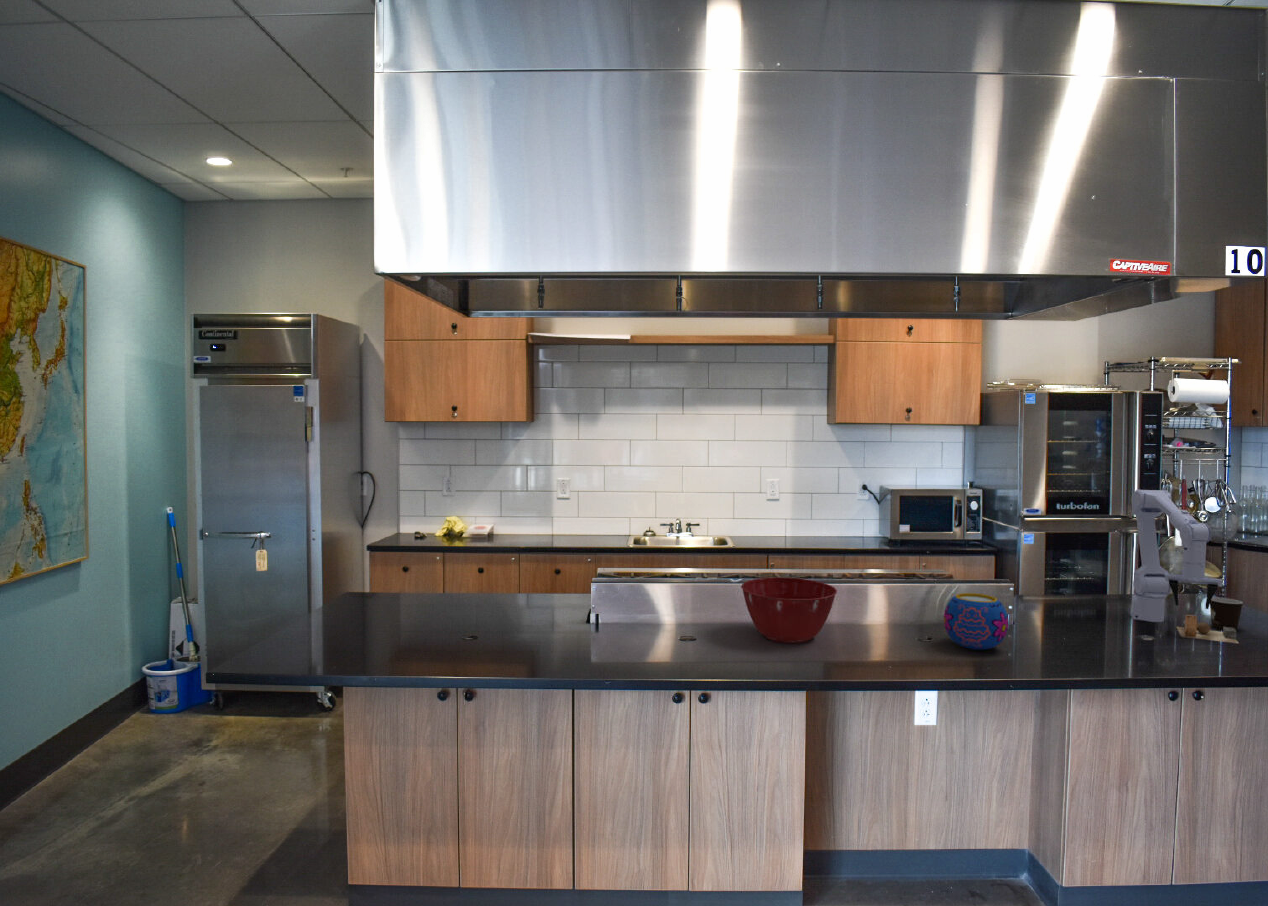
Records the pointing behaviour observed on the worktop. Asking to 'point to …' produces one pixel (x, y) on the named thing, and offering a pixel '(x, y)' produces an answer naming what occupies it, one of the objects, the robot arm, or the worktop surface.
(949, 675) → the worktop surface
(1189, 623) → the lever
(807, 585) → the mixing bowl
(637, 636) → the worktop surface
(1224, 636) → the beige square panel
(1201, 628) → the brown ball
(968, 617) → the ceramic pot
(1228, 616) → the coffee mug
